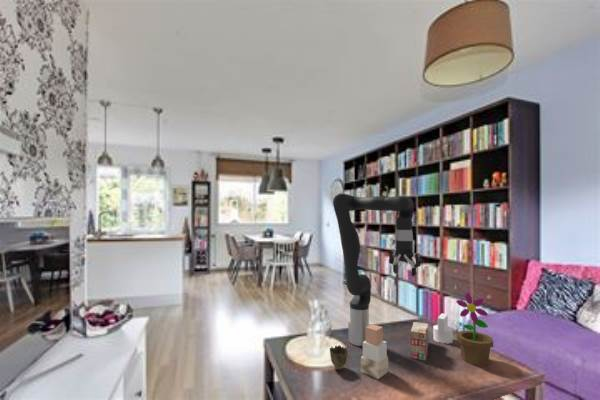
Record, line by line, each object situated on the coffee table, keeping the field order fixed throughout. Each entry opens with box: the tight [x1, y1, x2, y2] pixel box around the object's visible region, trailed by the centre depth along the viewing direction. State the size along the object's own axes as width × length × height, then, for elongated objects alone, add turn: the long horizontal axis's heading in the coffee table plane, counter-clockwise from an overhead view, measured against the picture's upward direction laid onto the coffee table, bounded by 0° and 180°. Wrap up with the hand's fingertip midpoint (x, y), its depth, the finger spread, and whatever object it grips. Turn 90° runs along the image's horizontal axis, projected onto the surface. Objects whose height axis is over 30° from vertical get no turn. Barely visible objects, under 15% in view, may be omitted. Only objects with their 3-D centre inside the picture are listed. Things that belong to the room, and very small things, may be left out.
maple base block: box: [360, 355, 389, 380], centre depth 129 cm, size 8×8×6 cm
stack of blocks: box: [410, 321, 430, 361], centre depth 149 cm, size 21×6×12 cm, turn 155°
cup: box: [329, 345, 348, 371], centre depth 132 cm, size 8×7×8 cm
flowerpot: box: [455, 292, 494, 367], centre depth 139 cm, size 14×14×30 cm
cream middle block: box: [362, 340, 388, 363], centre depth 129 cm, size 7×7×6 cm
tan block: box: [366, 323, 384, 346], centre depth 130 cm, size 5×5×6 cm
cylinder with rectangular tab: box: [432, 313, 454, 345], centre depth 161 cm, size 9×9×12 cm
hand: (404, 274), depth 146 cm, fingers open, 8 cm apart
